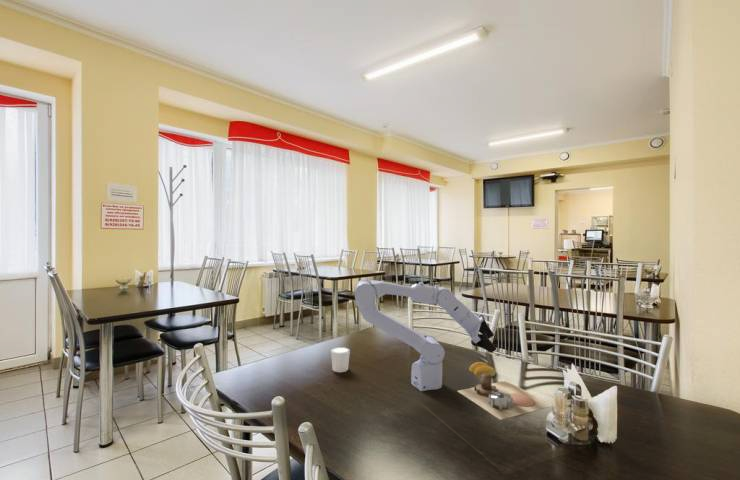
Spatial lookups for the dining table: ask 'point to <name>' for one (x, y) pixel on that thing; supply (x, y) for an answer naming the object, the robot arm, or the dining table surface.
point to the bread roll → (481, 369)
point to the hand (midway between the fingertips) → (492, 343)
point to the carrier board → (507, 389)
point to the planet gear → (485, 385)
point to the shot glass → (340, 359)
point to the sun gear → (500, 400)
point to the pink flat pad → (522, 400)
